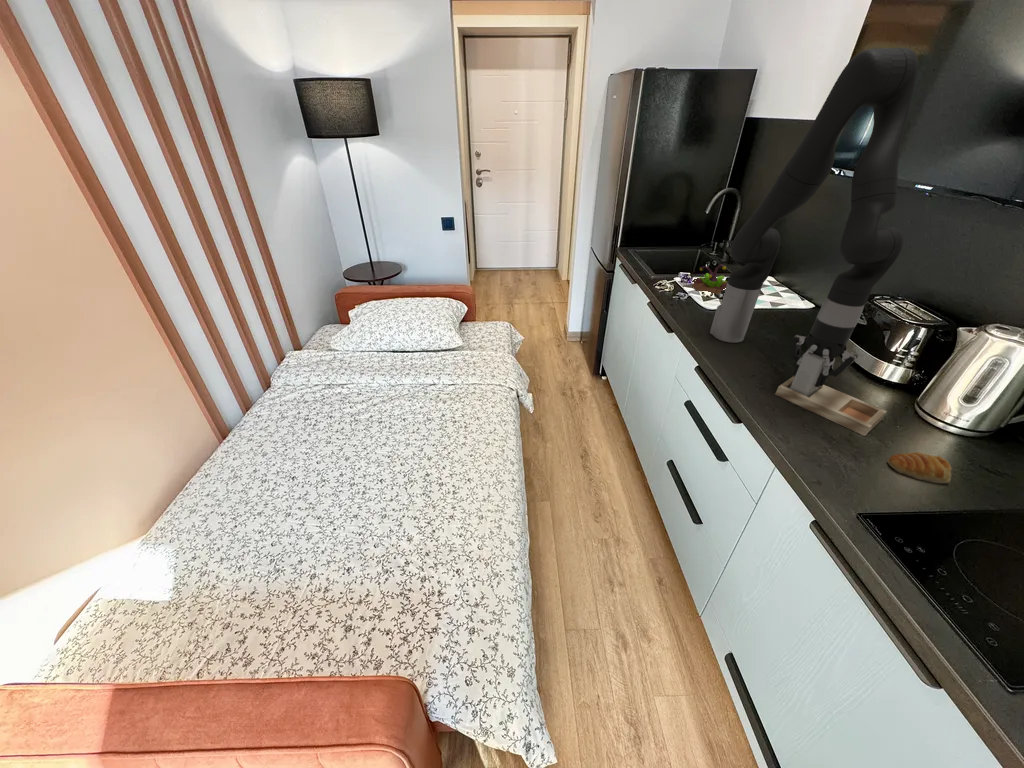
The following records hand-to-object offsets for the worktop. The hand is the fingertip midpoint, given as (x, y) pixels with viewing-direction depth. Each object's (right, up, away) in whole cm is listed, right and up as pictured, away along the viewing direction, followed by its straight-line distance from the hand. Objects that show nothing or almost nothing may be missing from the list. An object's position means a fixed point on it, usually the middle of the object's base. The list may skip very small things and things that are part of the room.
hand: (807, 381), depth 105 cm
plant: (+4, +36, +61) cm, 71 cm away
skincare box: (0, -4, +3) cm, 5 cm away
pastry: (+9, -19, -19) cm, 28 cm away
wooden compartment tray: (+3, -6, -2) cm, 7 cm away
